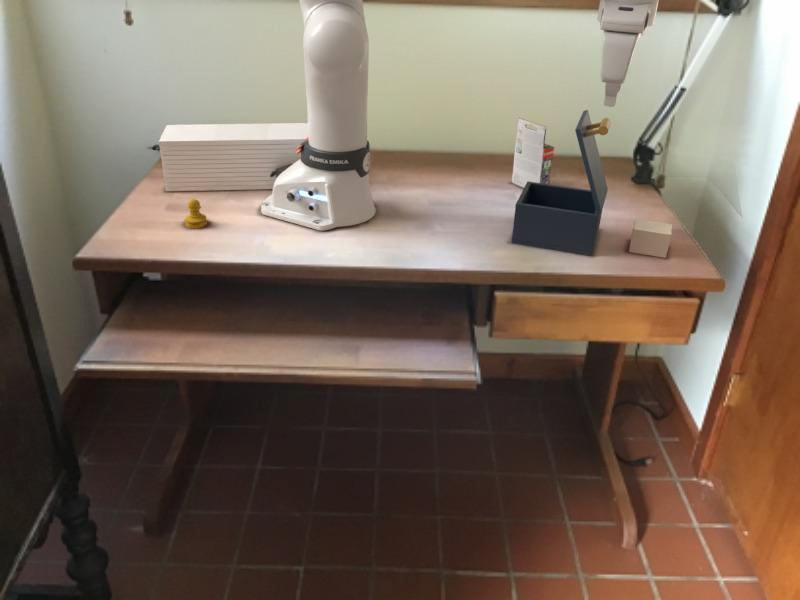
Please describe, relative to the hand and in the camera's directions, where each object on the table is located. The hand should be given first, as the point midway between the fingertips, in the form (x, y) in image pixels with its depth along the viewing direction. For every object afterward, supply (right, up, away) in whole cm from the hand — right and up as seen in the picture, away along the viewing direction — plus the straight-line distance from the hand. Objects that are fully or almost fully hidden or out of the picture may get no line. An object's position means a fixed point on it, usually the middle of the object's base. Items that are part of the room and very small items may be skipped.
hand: (611, 98), depth 126 cm
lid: (-2, -9, +6) cm, 12 cm away
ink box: (-8, -10, +36) cm, 38 cm away
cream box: (+10, -25, +11) cm, 29 cm away
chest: (-6, -22, +15) cm, 27 cm away
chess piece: (-74, -20, +17) cm, 78 cm away
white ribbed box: (-69, -8, +36) cm, 78 cm away
